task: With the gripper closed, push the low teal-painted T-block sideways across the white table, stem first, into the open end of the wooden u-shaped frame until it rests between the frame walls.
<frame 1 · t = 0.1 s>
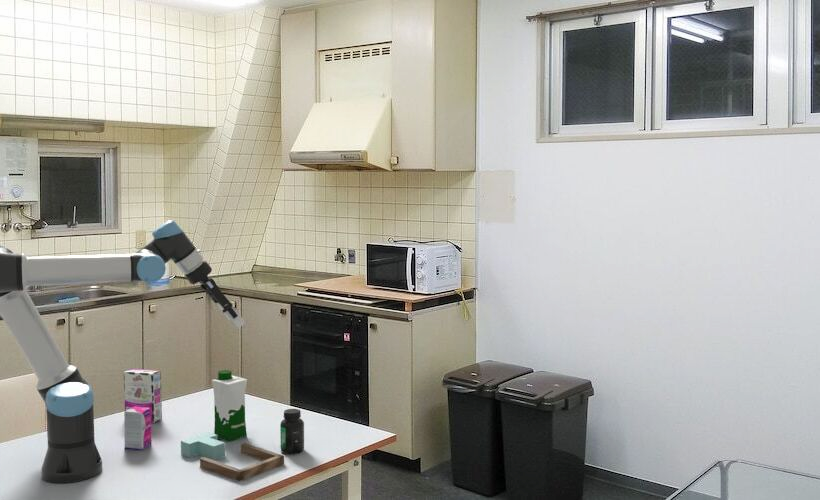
hand: (237, 321, 245), 36 cm above the table, tool tilted 35°, fingers open, 13 cm apart
supplement box: (138, 447, 238), on the table
tee: (199, 451, 234), on the table
wooden u-shaped frame: (240, 465, 224), on the table
milk carton: (230, 437, 247), on the table
candy bar box: (143, 420, 263), on the table
supplement bottle: (292, 451, 235), on the table
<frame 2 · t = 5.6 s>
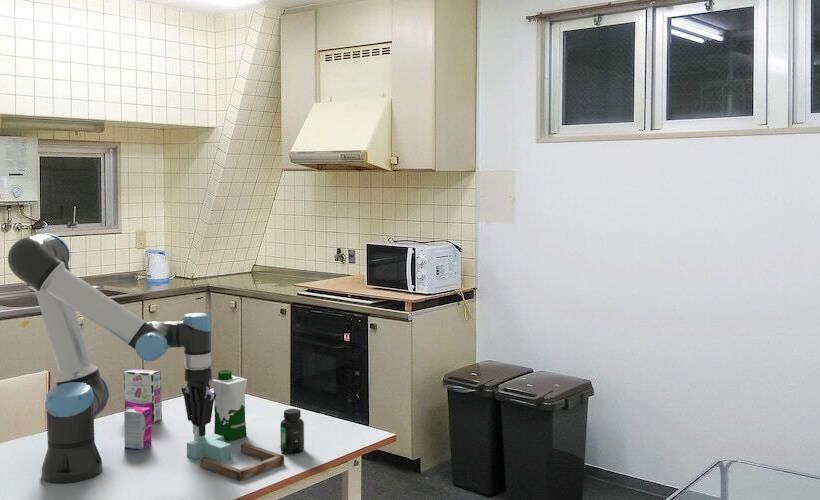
hand: (199, 445, 235), 1 cm above the table, tool pointing down, fingers closed
tee: (205, 452, 233), on the table, touching gripper
everything else where it was.
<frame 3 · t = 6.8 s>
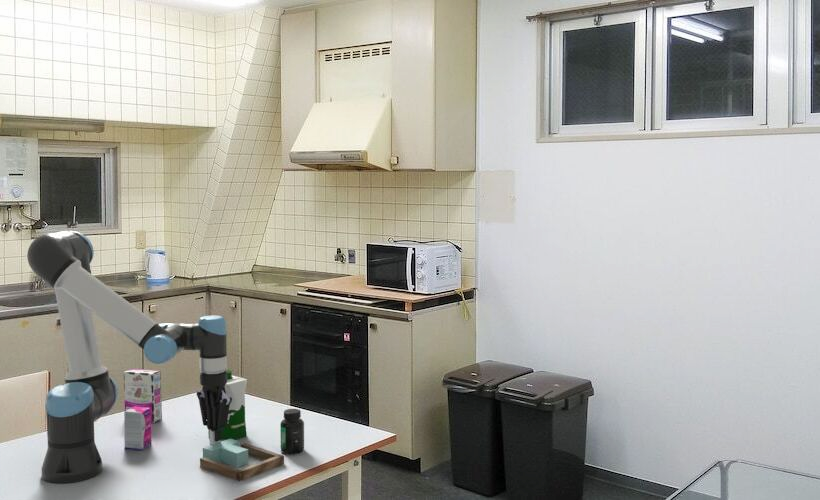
hand: (215, 451, 230), 1 cm above the table, tool pointing down, fingers closed
tee: (221, 458, 229), on the table, touching gripper
everything else where it was.
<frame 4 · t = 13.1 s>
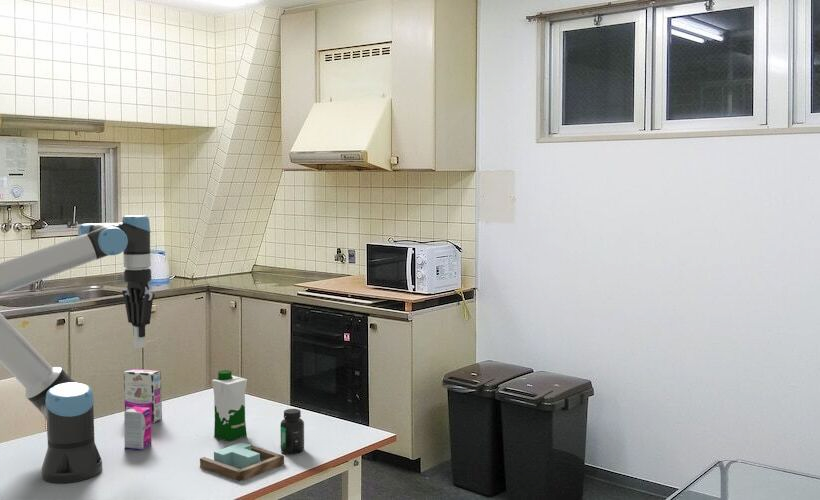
hand: (139, 347, 237), 29 cm above the table, tool pointing down, fingers closed
tee: (232, 462, 226), on the table
everything else where it was.
at the end: tee inside the target area (1.0 cm from its centre), on the table; tee tilted 0° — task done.
